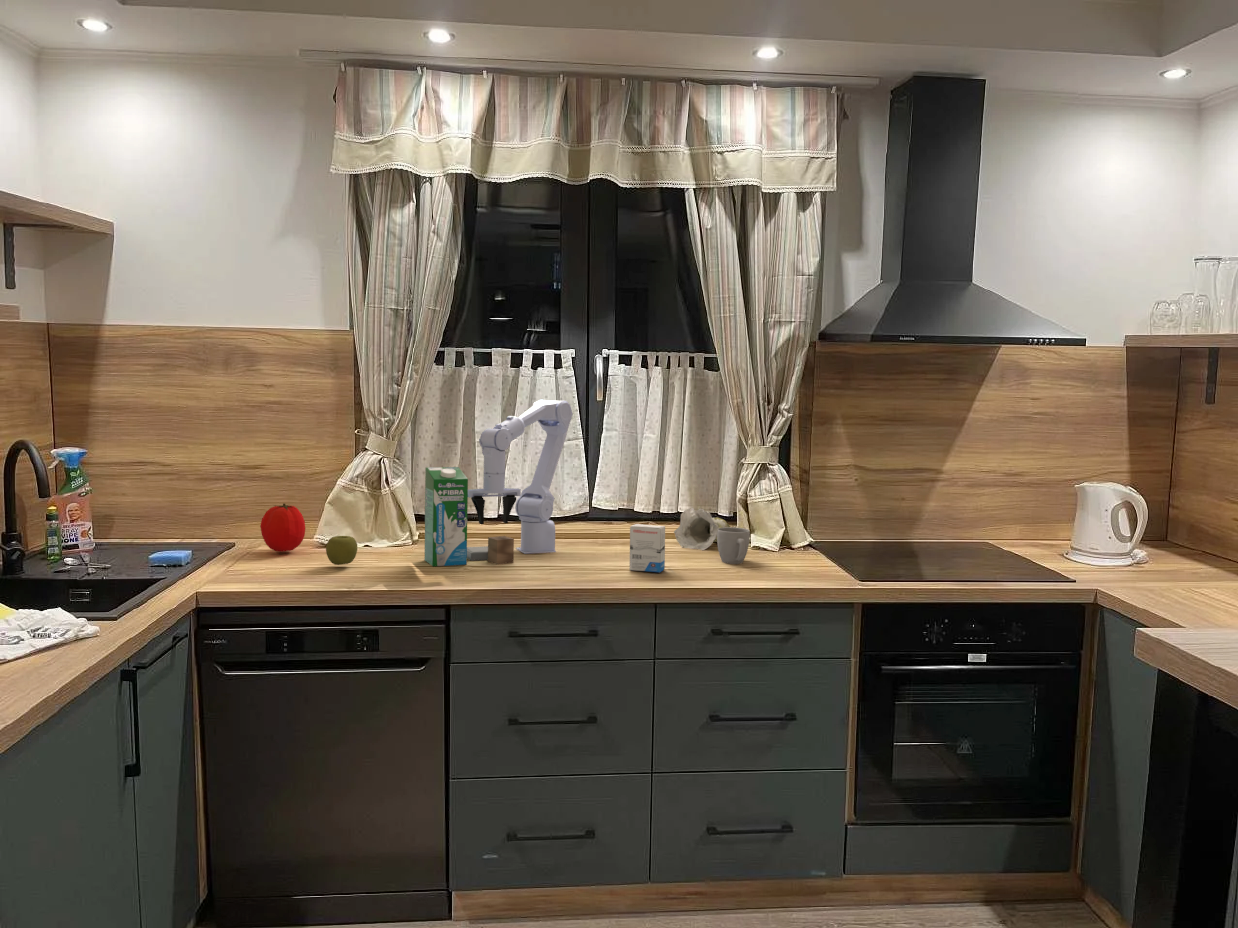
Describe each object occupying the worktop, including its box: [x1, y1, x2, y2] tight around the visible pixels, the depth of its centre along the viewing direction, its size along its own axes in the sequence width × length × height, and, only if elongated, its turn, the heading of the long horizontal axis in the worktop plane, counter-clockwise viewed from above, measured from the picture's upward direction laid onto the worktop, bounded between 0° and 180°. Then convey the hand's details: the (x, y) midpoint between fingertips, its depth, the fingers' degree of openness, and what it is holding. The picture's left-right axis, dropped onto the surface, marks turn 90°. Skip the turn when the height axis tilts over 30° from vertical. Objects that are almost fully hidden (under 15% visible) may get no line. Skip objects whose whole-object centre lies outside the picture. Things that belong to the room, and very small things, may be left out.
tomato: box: [260, 502, 306, 552], centre depth 254 cm, size 12×12×13 cm
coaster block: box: [467, 545, 488, 562], centre depth 255 cm, size 9×9×3 cm
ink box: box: [629, 523, 666, 573], centre depth 243 cm, size 9×5×12 cm, turn 71°
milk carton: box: [423, 466, 469, 568], centre depth 244 cm, size 9×9×25 cm
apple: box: [325, 535, 358, 566], centre depth 239 cm, size 8×8×7 cm
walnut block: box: [487, 535, 515, 565], centre depth 248 cm, size 5×5×6 cm
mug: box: [717, 526, 751, 565], centre depth 252 cm, size 12×9×10 cm
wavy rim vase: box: [673, 507, 731, 551], centre depth 277 cm, size 12×13×18 cm
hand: (493, 523), depth 251 cm, fingers open, 6 cm apart
